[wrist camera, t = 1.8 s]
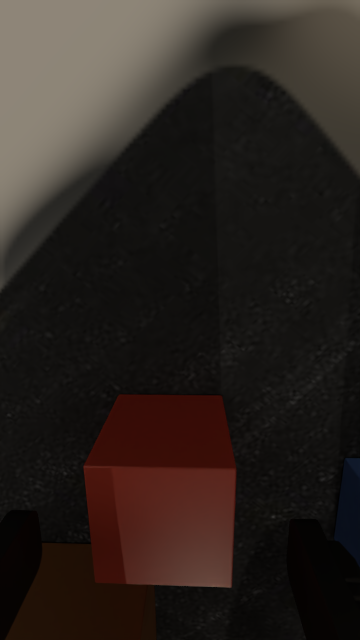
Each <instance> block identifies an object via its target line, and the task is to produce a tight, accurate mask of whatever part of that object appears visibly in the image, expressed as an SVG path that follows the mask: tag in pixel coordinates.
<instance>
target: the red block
mask: <svg viewBox="0 0 360 640" xmlns="http://www.w3.org/2000/svg"><path fill="white" fill-rule="evenodd" d="M236 470H237V469H236V464H235V459H234V454H233V449H232V444H231V439H230V434H229V429H228V424H227V419H226V414H225V409H224V403H223V398H222V396H221V395H128V394H120V395H118V397H117V399H116V401H115V403H114V406H113V408H112V410H111V412H110V414H109V416H108V418H107V420H106V422H105V424H104V426H103V428H102V430H101V432H100V434H99V436H98V438H97V440H96V442H95V444H94V446H93V448H92V450H91V452H90V454H89V456H88V458H87V460H86V462H85V464H84V476H85V486H86V496H87V506H88V516H89V526H90V536H91V546H92V556H93V566H94V576H95V582H96V583H118V584H147V585H176V586H205V587H232V573H233V547H234V521H235V496H236Z"/></svg>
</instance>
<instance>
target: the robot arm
mask: <svg viewBox="0 0 360 640" xmlns="http://www.w3.org/2000/svg"><path fill="white" fill-rule="evenodd" d="M41 559H42V541H41V534H40V526H39V519H38V514H37V512H36V511H25V510H11V511H10V512H8V513H7V515H6V516H5V517H4V519H3V520H2V522H1V523H0V640H5V639H6V637H7V635H8V633H9V631H10V628H11V626H12V624H13V622H14V620H15V618H16V616H17V614H18V612H19V610H20V608H21V606H22V604H23V601H24V599H25V597H26V595H27V593H28V591H29V589H30V587H31V585H32V583H33V581H34V579H35V577H36V574H37V572H38V570H39V567H40V563H41ZM287 570H288V576H289V581H290V585H291V588H292V591H293V595H294V598H295V602H296V605H297V609H298V612H299V615H300V619H301V622H302V626H303V629H304V633H305V636H306V639H307V640H360V567H359V565H358V564H357V562H356V560H355V558H354V557H353V556H352V555H351V554H350V553H349V552H348V551H347V550H346V548H345V547H344V546H343V545H342V544H341V543H340V542H339V541H327V539H326V537H325V534H324V532H323V530H322V528H321V526H320V524H319V522H318V521H317V520H316V519H291V520H290V525H289V537H288V548H287Z"/></svg>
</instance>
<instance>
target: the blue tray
mask: <svg viewBox="0 0 360 640" xmlns="http://www.w3.org/2000/svg"><path fill="white" fill-rule="evenodd" d="M5 640H157V637H156V612H155V587H154V585H147V584H118V583H96V582H95V576H94V566H93V556H92V546H91V544H76V543H42V559H41V563H40V567H39V570H38V572H37V574H36V577H35V579H34V581H33V583H32V585H31V587H30V589H29V591H28V593H27V595H26V597H25V599H24V601H23V604H22V606H21V608H20V610H19V612H18V614H17V616H16V618H15V620H14V622H13V624H12V626H11V628H10V631H9V633H8V635H7V637H6V639H5Z"/></svg>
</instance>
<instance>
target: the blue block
mask: <svg viewBox="0 0 360 640" xmlns="http://www.w3.org/2000/svg"><path fill="white" fill-rule="evenodd" d="M334 539H335V541H339V542H340V543H341V544H342V545H343V546H344V547H345V548H346V550H347V551H348V552H349V553H350V554H351V555H352V556H353V557H354V558H355V560H356V562H357V564H358V565H359V567H360V458H345V460H344V467H343V475H342V482H341V489H340V497H339V504H338V511H337V519H336V526H335V534H334Z"/></svg>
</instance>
